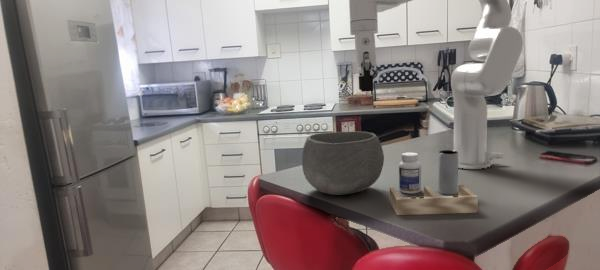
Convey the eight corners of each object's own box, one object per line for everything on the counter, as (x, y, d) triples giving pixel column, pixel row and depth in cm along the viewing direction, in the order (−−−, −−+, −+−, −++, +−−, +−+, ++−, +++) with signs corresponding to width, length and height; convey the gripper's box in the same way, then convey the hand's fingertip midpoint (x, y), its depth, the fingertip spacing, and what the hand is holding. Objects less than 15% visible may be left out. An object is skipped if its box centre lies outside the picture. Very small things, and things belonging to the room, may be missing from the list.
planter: (435, 190, 102) (435, 150, 101) (452, 188, 103) (453, 149, 101) (443, 195, 98) (443, 154, 96) (461, 194, 98) (461, 153, 96)
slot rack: (462, 199, 94) (462, 183, 94) (477, 212, 85) (477, 195, 85) (389, 201, 95) (389, 186, 94) (397, 215, 86) (396, 198, 86)
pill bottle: (403, 187, 106) (403, 151, 105) (423, 189, 103) (423, 152, 102) (396, 192, 102) (395, 155, 100) (416, 195, 99) (416, 156, 97)
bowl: (385, 181, 112) (384, 129, 110) (383, 206, 92) (382, 142, 90) (311, 180, 117) (309, 130, 115) (294, 204, 97) (291, 143, 95)
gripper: (381, 23, 102) (382, 91, 104) (374, 30, 119) (376, 88, 121) (351, 25, 102) (353, 92, 105) (349, 32, 119) (351, 89, 122)
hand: (365, 90), depth 113 cm, fingers open, 9 cm apart
